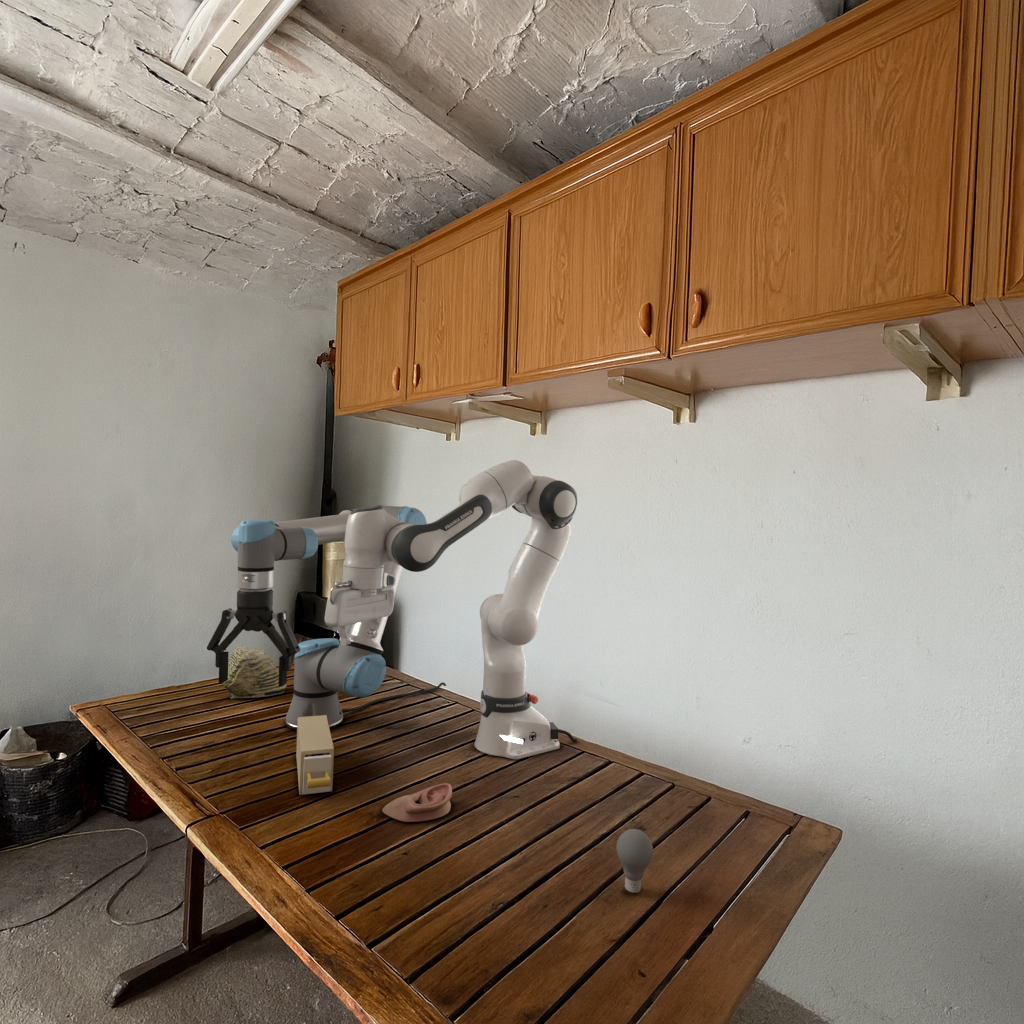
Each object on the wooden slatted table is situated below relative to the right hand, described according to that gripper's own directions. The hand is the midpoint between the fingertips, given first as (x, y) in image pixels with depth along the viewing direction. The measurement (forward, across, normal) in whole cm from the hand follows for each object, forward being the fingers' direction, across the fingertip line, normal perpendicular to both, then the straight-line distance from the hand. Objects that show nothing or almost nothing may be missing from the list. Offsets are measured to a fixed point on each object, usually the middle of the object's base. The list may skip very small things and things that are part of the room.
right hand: (359, 641), depth 141 cm
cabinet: (+32, 0, +11) cm, 33 cm away
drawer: (+31, -4, +7) cm, 32 cm away
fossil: (+32, +34, +64) cm, 79 cm away
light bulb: (+31, -10, -66) cm, 73 cm away
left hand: (+11, -8, +22) cm, 26 cm away
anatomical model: (+31, -3, -20) cm, 37 cm away
